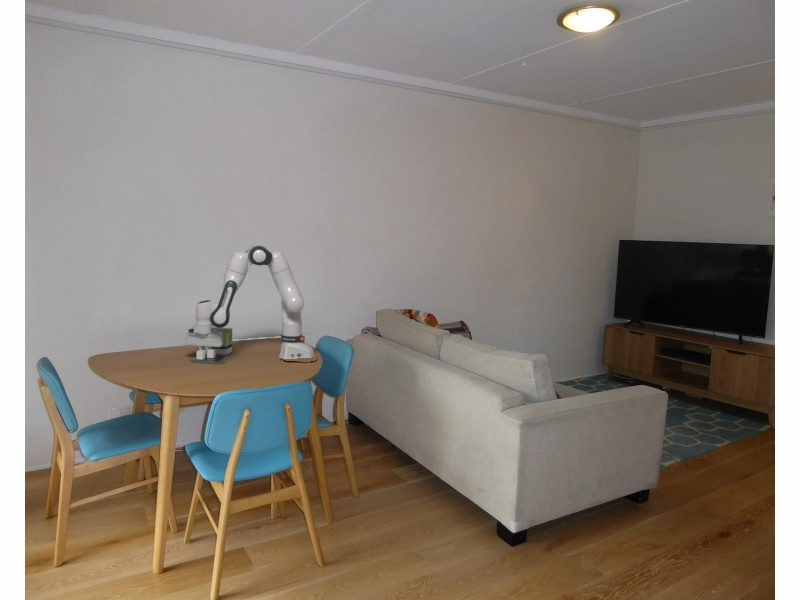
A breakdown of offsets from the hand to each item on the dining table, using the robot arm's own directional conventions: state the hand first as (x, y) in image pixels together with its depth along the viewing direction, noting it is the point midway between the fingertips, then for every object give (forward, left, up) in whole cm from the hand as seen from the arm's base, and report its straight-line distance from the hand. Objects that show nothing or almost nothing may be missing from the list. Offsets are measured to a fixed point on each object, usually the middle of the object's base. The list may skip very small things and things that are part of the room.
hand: (204, 353), depth 306 cm
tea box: (0, -19, -4) cm, 19 cm away
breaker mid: (-4, 0, -2) cm, 4 cm away
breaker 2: (0, -4, -2) cm, 5 cm away
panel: (-4, 0, -4) cm, 5 cm away
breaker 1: (0, +5, -2) cm, 5 cm away
